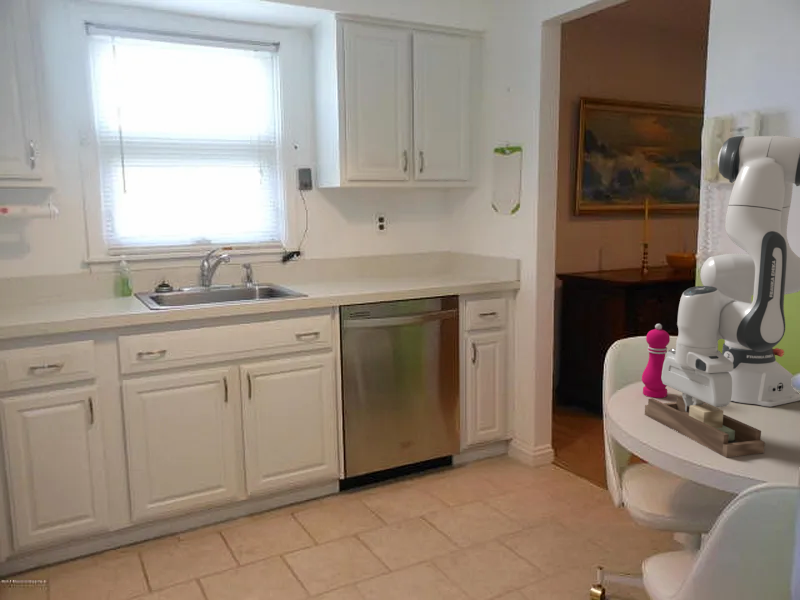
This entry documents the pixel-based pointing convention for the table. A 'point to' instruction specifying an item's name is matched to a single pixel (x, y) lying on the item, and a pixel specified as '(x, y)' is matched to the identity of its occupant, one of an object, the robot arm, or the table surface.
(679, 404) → the tray
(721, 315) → the robot arm
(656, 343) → the pepper mill
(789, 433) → the table surface
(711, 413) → the maple block
